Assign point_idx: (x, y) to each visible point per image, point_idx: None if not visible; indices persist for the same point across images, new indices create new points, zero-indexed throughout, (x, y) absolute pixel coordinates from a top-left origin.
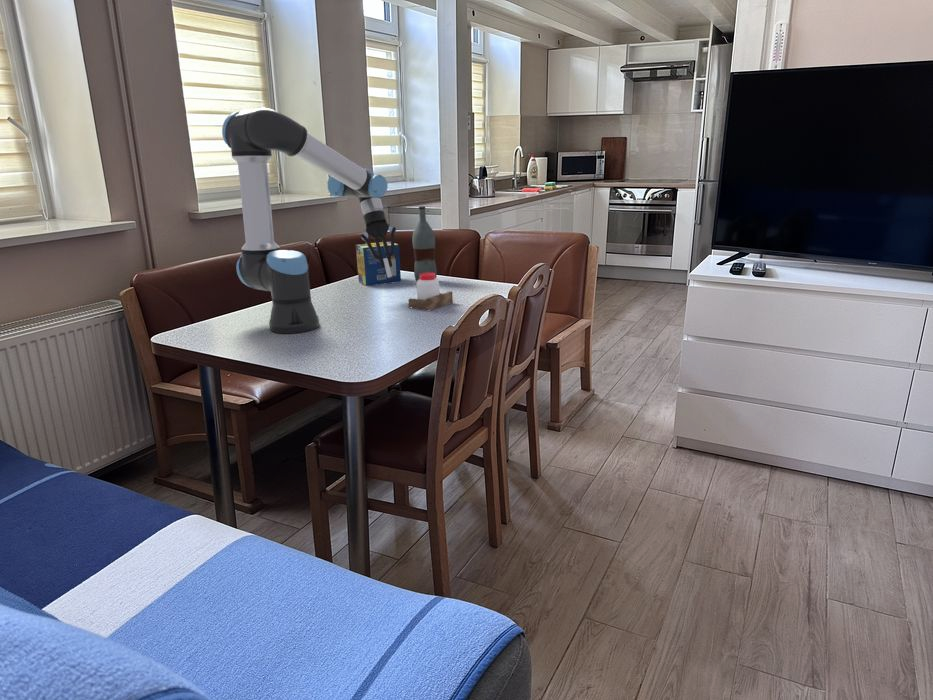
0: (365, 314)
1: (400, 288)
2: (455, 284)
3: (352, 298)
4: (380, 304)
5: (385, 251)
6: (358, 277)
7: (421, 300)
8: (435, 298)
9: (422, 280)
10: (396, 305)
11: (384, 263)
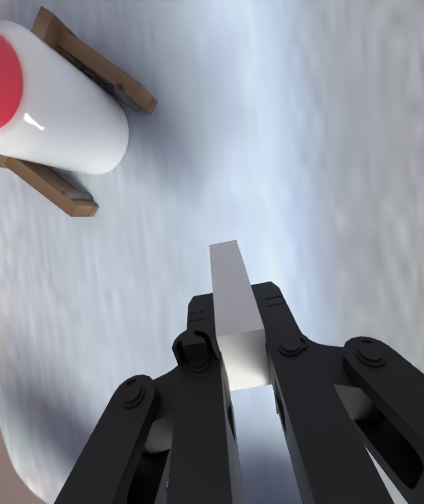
0: None
1: None
2: (53, 434)
3: (417, 312)
4: (277, 175)
5: (225, 423)
6: None
7: (85, 50)
8: None
9: (2, 34)
10: (209, 149)
11: (252, 294)
